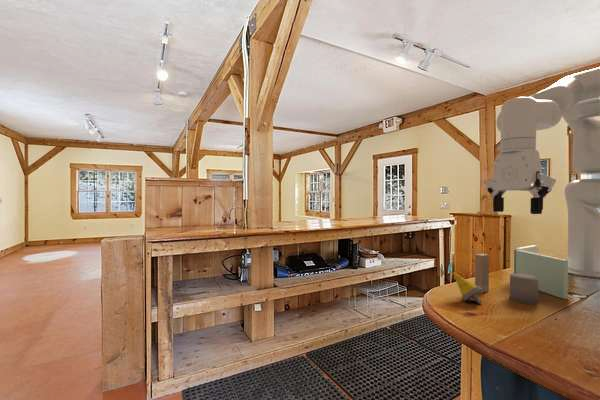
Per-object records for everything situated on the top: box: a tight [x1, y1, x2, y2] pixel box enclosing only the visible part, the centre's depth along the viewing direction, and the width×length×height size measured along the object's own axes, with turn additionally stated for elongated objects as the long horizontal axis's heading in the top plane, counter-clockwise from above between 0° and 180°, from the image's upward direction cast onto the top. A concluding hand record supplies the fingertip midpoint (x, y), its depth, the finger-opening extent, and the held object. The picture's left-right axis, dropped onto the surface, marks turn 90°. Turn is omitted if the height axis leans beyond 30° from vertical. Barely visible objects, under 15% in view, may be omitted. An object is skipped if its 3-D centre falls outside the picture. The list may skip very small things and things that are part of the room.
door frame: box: [474, 244, 539, 294], centre depth 90 cm, size 28×2×10 cm, turn 115°
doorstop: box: [509, 273, 540, 305], centre depth 78 cm, size 6×6×6 cm
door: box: [513, 248, 569, 300], centre depth 85 cm, size 15×1×10 cm, turn 10°
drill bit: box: [452, 271, 483, 305], centre depth 78 cm, size 5×5×10 cm
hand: (516, 212), depth 78 cm, fingers open, 9 cm apart
